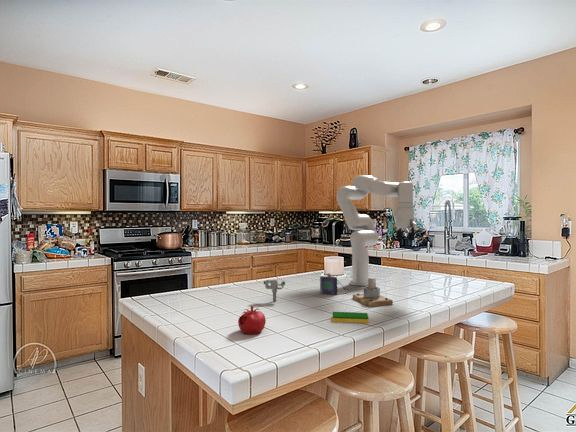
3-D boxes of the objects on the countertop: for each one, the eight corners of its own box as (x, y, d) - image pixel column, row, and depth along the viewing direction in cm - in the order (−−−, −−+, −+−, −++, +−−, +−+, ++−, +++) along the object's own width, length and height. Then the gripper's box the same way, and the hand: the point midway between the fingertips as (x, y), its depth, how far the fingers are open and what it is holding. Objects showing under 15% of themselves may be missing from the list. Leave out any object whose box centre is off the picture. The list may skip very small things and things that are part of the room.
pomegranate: (265, 327, 135) (266, 302, 135) (265, 336, 125) (265, 309, 125) (239, 327, 134) (239, 302, 134) (236, 335, 124) (236, 309, 124)
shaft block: (352, 298, 176) (352, 276, 176) (374, 296, 180) (374, 274, 180) (369, 306, 161) (369, 282, 161) (392, 304, 165) (392, 280, 165)
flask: (319, 293, 187) (319, 273, 187) (321, 292, 190) (321, 272, 190) (336, 295, 183) (336, 274, 183) (338, 294, 186) (338, 273, 186)
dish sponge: (332, 317, 147) (332, 311, 147) (367, 318, 145) (367, 312, 145) (332, 322, 140) (332, 316, 140) (368, 324, 138) (368, 317, 138)
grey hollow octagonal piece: (361, 296, 173) (361, 287, 173) (374, 294, 175) (374, 285, 175) (369, 299, 166) (369, 290, 166) (382, 298, 168) (382, 288, 168)
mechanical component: (284, 302, 169) (284, 281, 169) (263, 301, 171) (263, 281, 171) (285, 301, 172) (285, 280, 172) (265, 300, 174) (264, 279, 174)
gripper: (389, 206, 190) (389, 238, 190) (409, 205, 173) (409, 241, 174) (401, 206, 192) (401, 238, 192) (422, 205, 176) (422, 240, 176)
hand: (405, 239), depth 183 cm, fingers open, 9 cm apart
